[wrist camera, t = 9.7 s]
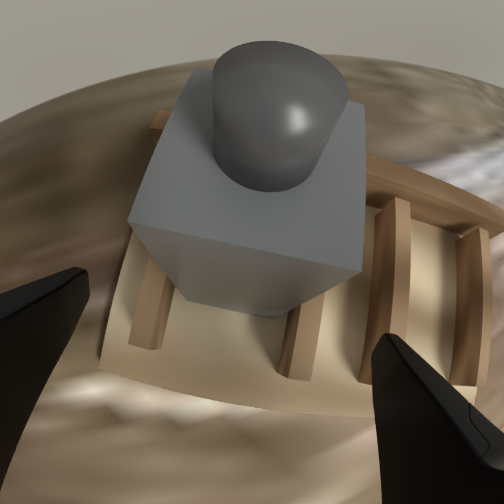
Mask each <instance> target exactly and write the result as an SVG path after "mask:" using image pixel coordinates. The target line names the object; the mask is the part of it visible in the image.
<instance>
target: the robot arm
mask: <svg viewBox="0 0 504 504" xmlns="http://www.w3.org/2000/svg"><path fill="white" fill-rule="evenodd" d="M89 296H90V289H89V280H88V273H87V271H86V270H85V269H82V268H78V267H72V268H70V269H67V270H64V271H61V272H58V273H55V274H53V275H50V276H47V277H44V278H42V279H39V280H36V281H33V282H31V283H28V284H25V285H23V286H20V287H17V288H15V289H12V290H9V291H7V292H4V293H2V294H0V490H1V487H2V484H3V481H4V478H5V476H6V473H7V470H8V467H9V465H10V462H11V460H12V457H13V455H14V452H15V450H16V446H17V444H18V442H19V440H20V437H21V435H22V433H23V430H24V428H25V426H26V424H27V421H28V419H29V417H30V415H31V413H32V411H33V409H34V406H35V404H36V402H37V400H38V398H39V396H40V394H41V392H42V390H43V388H44V386H45V384H46V382H47V380H48V379H49V377H50V375H51V373H52V371H53V369H54V367H55V365H56V364H57V362H58V360H59V358H60V356H61V355H62V353H63V351H64V349H65V347H66V346H67V344H68V342H69V340H70V338H71V336H72V334H73V332H74V330H75V328H76V325H77V323H78V321H79V319H80V317H81V315H82V312H83V310H84V308H85V306H86V304H87V302H88V300H89ZM371 375H372V398H373V408H374V416H375V424H376V432H377V442H378V452H379V463H380V476H381V492H382V504H504V433H503V432H502V431H501V430H499V429H498V428H497V427H496V426H495V425H494V424H493V423H491V422H490V421H489V420H488V419H487V418H486V417H485V416H484V415H483V414H482V413H480V412H479V411H478V410H477V409H476V408H475V407H474V406H473V405H472V404H471V403H470V402H468V400H467V399H466V398H465V397H464V396H463V395H462V394H461V393H460V392H458V391H457V390H456V389H455V388H454V387H453V386H452V385H451V384H450V383H449V382H448V381H447V380H446V379H445V378H444V377H443V376H442V375H440V374H439V373H438V372H437V371H436V370H435V369H434V368H433V367H432V366H431V365H430V364H429V363H428V362H427V361H425V360H424V359H423V358H422V357H421V356H420V355H419V354H418V353H417V352H416V351H415V350H413V349H412V348H411V347H410V346H409V345H408V344H407V343H406V342H405V341H404V340H402V339H401V338H400V337H399V336H398V335H397V334H394V333H384V334H382V336H381V337H380V339H379V341H378V343H377V344H376V346H375V348H374V349H373V351H372V354H371Z"/></svg>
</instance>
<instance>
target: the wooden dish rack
mask: <svg viewBox="0 0 504 504" xmlns="http://www.w3.org/2000/svg"><path fill="white" fill-rule="evenodd" d="M171 113H172V111H169V110H159V109H158V111H157V113H156V115H155V117H154V119H153V121H152V123H151V125H150V127H149V129H150V133H151V137H152V140H153V144H154V147H155V148H156V146H157V144H158V141H159V139H160V137H161V135H162V132H163V130H164V128H165V126H166V124H167V122H168V119H169V117H170V115H171ZM502 232H504V209H502V208H500V207H498V206H496V205H494V204H492V203H490V202H488V201H486V200H484V199H482V198H479V197H477V196H475V195H473V194H471V193H469V192H467V191H464V190H462V189H460V188H458V187H455V186H453V185H451V184H448V183H446V182H444V181H441V180H439V179H436V178H434V177H432V176H429V175H427V174H424V173H421V172H419V171H416V170H414V169H411V168H408V167H406V166H403V165H400V164H397V163H395V162H392V161H389V160H386V159H383V158H380V157H377V156H374V155H371V154H368V153H366V201H365V227H364V244H363V258H362V270H361V272H360V273H359V274H357V275H355V276H353V277H351V278H350V279H348V280H346V281H344V282H342V283H341V284H339V285H337V286H335V287H333V288H331V289H330V290H328V291H326V292H324V293H322V294H320V295H318V296H317V297H315V298H313V299H311V300H309V301H307V302H305V303H303V304H301V305H299V306H297V307H295V308H293V309H292V310H290V311H288V312H286V313H284V314H282V315H280V316H278V317H276V318H274V319H270V318H265V317H260V316H255V315H250V314H245V313H240V312H235V311H230V310H226V309H221V308H217V307H212V306H208V305H203V304H199V303H194V302H190V301H187V300H186V299H185V298H184V297H183V295H182V294H181V293H180V292H179V290H178V289H177V288H176V287H175V285H174V284H173V283H172V281H171V280H170V279H169V278H168V276H167V275H166V274H165V272H164V271H163V270H162V268H161V267H160V266H159V265H158V263H157V262H156V261H155V259H154V258H153V257H152V255H151V254H150V253H149V251H148V250H147V248H146V247H145V246H144V244H143V243H142V242H141V240H140V239H139V238H138V236H137V235H136V233H135V232H134V231H133V232H132V235H131V238H130V242H129V245H128V248H127V251H126V255H125V258H124V261H123V265H122V268H121V272H120V276H119V279H118V283H117V287H116V291H115V295H114V299H113V303H112V307H111V311H110V315H109V319H108V324H107V328H106V333H105V338H104V343H103V348H102V353H101V358H100V363H99V369H102V370H105V371H108V372H111V373H114V374H117V375H120V376H123V377H126V378H129V379H132V380H136V381H139V382H142V383H146V384H149V385H153V386H157V387H160V388H164V389H168V390H172V391H176V392H180V393H184V394H188V395H192V396H197V397H201V398H206V399H211V400H216V401H221V402H226V403H231V404H237V405H243V406H249V407H256V408H262V409H270V410H277V411H285V412H295V413H305V414H316V415H331V416H352V417H375V416H374V408H373V398H372V375H371V354H372V351H373V349H374V348H375V346H376V344H377V343H378V341H379V339H380V337H381V336H382V334H384V333H394V334H397V335H398V336H399V337H400V338H401V339H402V340H404V341H405V342H406V343H407V344H408V345H409V346H410V347H411V348H412V349H413V350H415V351H416V352H417V353H418V354H419V355H420V356H421V357H422V358H423V359H424V360H425V361H427V362H428V363H429V364H430V365H431V366H432V367H433V368H434V369H435V370H436V371H437V372H438V373H439V374H440V375H442V376H443V377H444V378H445V379H446V380H447V381H448V382H449V383H450V384H451V385H452V386H453V387H454V388H455V389H456V390H457V391H458V392H460V393H461V394H462V395H463V396H464V397H465V398H466V399H467V400H468V402H470V403H471V404H472V405H473V406H474V402H475V396H476V390H477V387H480V386H486V379H487V372H488V363H489V354H490V342H491V326H492V271H491V255H490V243H489V239H491V238H493V237H495V236H496V235H498V234H500V233H502Z"/></svg>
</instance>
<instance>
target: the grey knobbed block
mask: <svg viewBox="0 0 504 504" xmlns="http://www.w3.org/2000/svg"><path fill="white" fill-rule="evenodd" d="M348 95H349V93H348V87H347V84H346V82H345V80H344V78H343V76H342V75H341V73H340V72H339V71H338V70H337V68H336V67H335V66H334V65H332V64H331V63H330V62H329V61H328V60H326V59H325V58H323V57H322V56H320V55H319V54H317V53H315V52H313V51H311V50H309V49H306V48H304V47H301V46H298V45H294V44H290V43H285V42H278V41H256V42H250V43H246V44H242V45H239V46H237V47H234V48H232V49H230V50H229V51H227V52H226V53H224V54H223V55H222V56H221V57H220V58H219V59H218V60H217V62H216V64H215V66H214V69H213V70H211V69H202V68H194V70H193V72H192V74H191V76H190V78H189V79H188V81H187V83H186V85H185V87H184V89H183V91H182V93H181V95H180V97H179V99H178V101H177V103H176V105H175V107H174V109H173V111H172V113H171V115H170V117H169V119H168V122H167V124H166V126H165V128H164V130H163V132H162V135H161V137H160V139H159V141H158V144H157V146H156V148H155V150H154V153H153V155H152V157H151V160H150V162H149V165H148V167H147V170H146V172H145V175H144V177H143V180H142V182H141V185H140V187H139V190H138V193H137V195H136V198H135V201H134V203H133V206H132V209H131V212H130V215H129V217H128V220H127V222H128V224H129V225H130V226H131V228H132V229H133V231H134V232H135V233H136V235H137V236H138V238H139V239H140V240H141V242H142V243H143V244H144V246H145V247H146V248H147V250H148V251H149V253H150V254H151V255H152V257H153V258H154V259H155V261H156V262H157V263H158V265H159V266H160V267H161V268H162V270H163V271H164V272H165V274H166V275H167V276H168V278H169V279H170V280H171V281H172V283H173V284H174V285H175V287H176V288H177V289H178V290H179V292H180V293H181V294H182V295H183V297H184V298H185V299H186V300H187V301H190V302H194V303H199V304H203V305H208V306H212V307H217V308H221V309H226V310H230V311H235V312H240V313H245V314H250V315H255V316H260V317H265V318H270V319H274V318H276V317H278V316H280V315H282V314H284V313H286V312H288V311H290V310H292V309H293V308H295V307H297V306H299V305H301V304H303V303H305V302H307V301H309V300H311V299H313V298H315V297H317V296H318V295H320V294H322V293H324V292H326V291H328V290H330V289H331V288H333V287H335V286H337V285H339V284H341V283H342V282H344V281H346V280H348V279H350V278H351V277H353V276H355V275H357V274H359V273H360V272H361V270H362V258H363V244H364V227H365V201H366V137H365V112H364V105H362V104H359V103H356V102H353V101H350V100H348Z"/></svg>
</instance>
